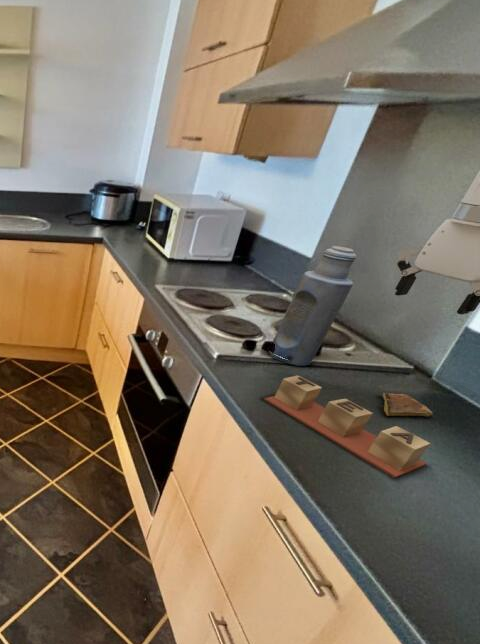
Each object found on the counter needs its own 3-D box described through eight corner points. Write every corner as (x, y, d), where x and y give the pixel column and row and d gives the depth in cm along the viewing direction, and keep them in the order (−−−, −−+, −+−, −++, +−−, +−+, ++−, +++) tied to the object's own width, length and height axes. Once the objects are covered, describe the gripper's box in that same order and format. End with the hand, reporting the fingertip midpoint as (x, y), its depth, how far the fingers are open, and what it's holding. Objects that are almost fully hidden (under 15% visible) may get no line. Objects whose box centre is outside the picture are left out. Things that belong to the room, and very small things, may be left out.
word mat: (425, 465, 76) (426, 463, 76) (394, 478, 72) (396, 476, 72) (293, 392, 95) (293, 390, 95) (263, 399, 92) (264, 398, 92)
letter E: (360, 433, 82) (373, 412, 80) (343, 437, 81) (356, 416, 79) (334, 417, 87) (345, 397, 84) (317, 421, 85) (329, 400, 83)
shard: (385, 417, 89) (389, 410, 88) (354, 396, 96) (358, 389, 95) (431, 418, 90) (436, 411, 89) (397, 397, 96) (402, 391, 96)
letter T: (311, 406, 90) (322, 386, 87) (296, 410, 88) (307, 390, 86) (288, 393, 94) (298, 374, 92) (274, 397, 92) (283, 377, 90)
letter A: (415, 464, 75) (431, 442, 73) (399, 470, 73) (416, 448, 71) (382, 446, 79) (397, 424, 77) (367, 451, 77) (381, 430, 75)
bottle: (259, 349, 114) (307, 242, 101) (288, 348, 116) (338, 242, 103) (289, 367, 106) (346, 253, 92) (320, 365, 108) (379, 253, 94)
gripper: (566, 227, 69) (499, 319, 77) (433, 207, 83) (388, 287, 91) (547, 228, 67) (480, 323, 74) (413, 207, 81) (368, 289, 89)
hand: (429, 303), depth 83 cm, fingers open, 9 cm apart
